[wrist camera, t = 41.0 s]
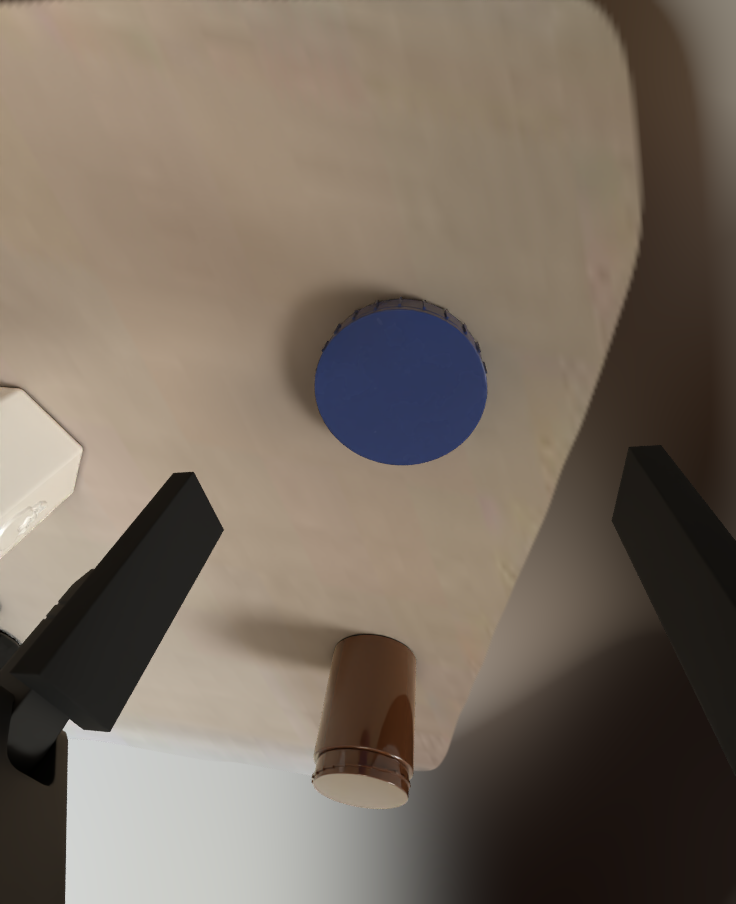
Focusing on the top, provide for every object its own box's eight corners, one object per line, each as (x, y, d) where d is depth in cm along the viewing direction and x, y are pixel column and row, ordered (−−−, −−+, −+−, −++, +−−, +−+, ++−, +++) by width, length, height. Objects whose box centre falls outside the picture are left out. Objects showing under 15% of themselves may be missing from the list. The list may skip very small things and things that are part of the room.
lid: (339, 453, 23) (333, 471, 22) (303, 310, 19) (293, 321, 18) (485, 442, 22) (489, 461, 20) (483, 284, 17) (487, 294, 16)
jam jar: (397, 628, 33) (387, 770, 25) (428, 674, 36) (427, 811, 28) (319, 640, 35) (289, 772, 27) (355, 682, 38) (337, 810, 31)
